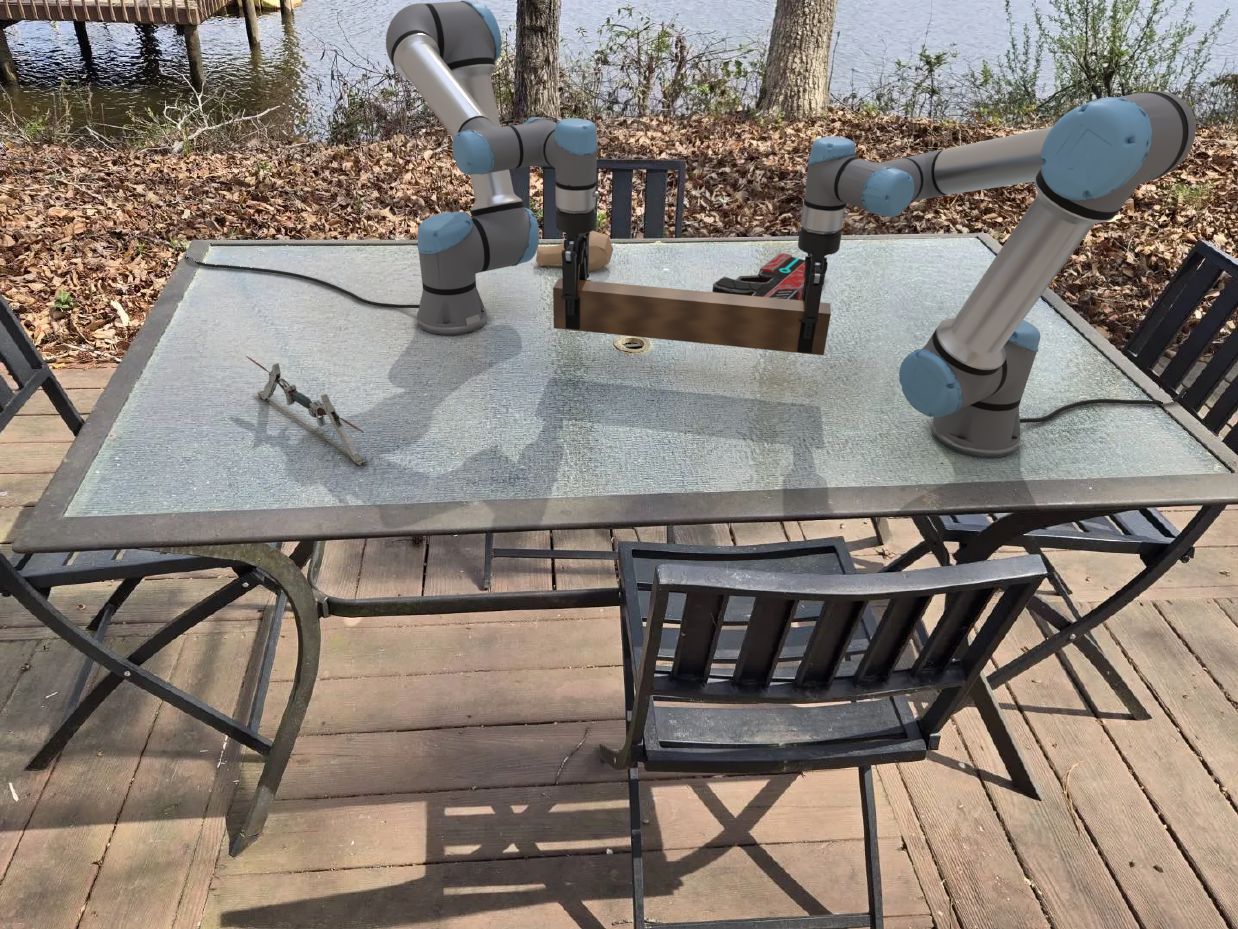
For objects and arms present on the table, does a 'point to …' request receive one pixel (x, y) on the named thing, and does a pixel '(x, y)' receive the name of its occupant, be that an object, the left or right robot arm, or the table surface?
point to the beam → (692, 316)
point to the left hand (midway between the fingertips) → (576, 321)
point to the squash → (597, 252)
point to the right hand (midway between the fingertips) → (803, 344)
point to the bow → (311, 409)
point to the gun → (769, 280)
